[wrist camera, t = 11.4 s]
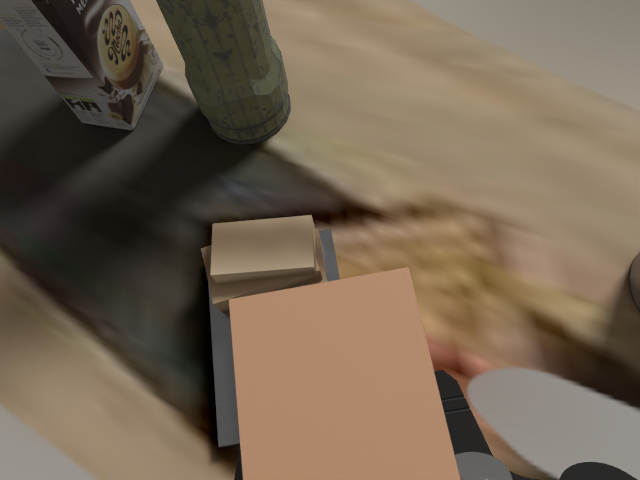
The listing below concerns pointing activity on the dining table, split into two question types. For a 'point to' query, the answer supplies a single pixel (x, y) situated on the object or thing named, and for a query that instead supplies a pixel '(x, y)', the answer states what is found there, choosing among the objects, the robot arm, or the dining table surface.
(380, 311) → the board
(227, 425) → the rack
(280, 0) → the dining table surface
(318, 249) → the offcut pile
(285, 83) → the thermos
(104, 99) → the coffee box
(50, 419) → the dining table surface
